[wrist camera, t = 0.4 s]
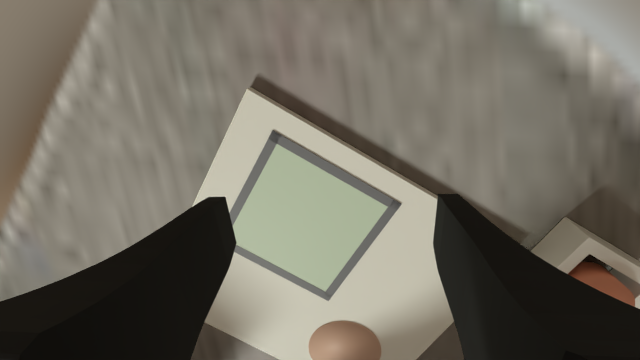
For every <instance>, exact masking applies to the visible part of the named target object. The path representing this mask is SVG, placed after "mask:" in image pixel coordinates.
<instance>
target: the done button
mask: <svg viewBox="0 0 640 360" xmlns="http://www.w3.org/2000/svg"><path fill="white" fill-rule="evenodd" d="M568 275H570V276H572V277H574V278H576V279H578V280H580V281H581V282H583V283H585V284H587V285H589V286H591V287H593V288H595V289H597V290H599V291H601V292H603V293H605V294H607V295H609V296H612V297H614V298H616V299H618V300H620V301H622V302H625V303H627V304H629V305H632V306H634V307H635V298H634V296H633V294H632V292H631V291H630V290H629V289H628V288H627V287H626V286H624V285H623V284H622V283H621V282H620V281H619V280H618V279H617V278H616V277H615V276H614V275H613V274H611V273H610V272H609V271H608V270H607V269H606V268H605V267H603V266H602V265H600V264H597V263H593V262H580V263H579V264H578V265H577V266H576V267H575V268H573V269H572V270H571V271H570V272H569V273H568Z"/></svg>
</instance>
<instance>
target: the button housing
mask: <svg viewBox="0 0 640 360" xmlns="http://www.w3.org/2000/svg"><path fill="white" fill-rule="evenodd" d="M530 252H532V253H533V254H535V255H536V256H538V257H540V258H541V259H543V260H545V261H546V262H548V263H549V264H551V265H553V266H554V267H556V268H558V269H559V270H561V271H563V272H565V273H567V274H568V273H569V272H570V271H571V270H572V269H573V268H575V267H576V266H577V265H578V264H579V263H580V262H581V261H582V260H583V259H584V258H585V257H587V256H588V255H589V254H591V255H592V256H594V257H596V258H597V259H599V260H601V261H602V262H604V263H606V264H607V265H609V266H611V267H612V268H613V269H612V270H611V271H609V272H610V273H611V274H613V275H614V276H615V277H616V278H617V279H618V280H619V281H620V282H621V283H622V284H623V285H624V286H626V287H627V288H628V289H629V290H630V291H631V292H632V294H633V296H634V298H635V307H636V308H638V309H640V262H639V261H638V260H636V259H635V258H633V257H632V256H630V255H628V254H627V253H625V252H623V251H622V250H620V249H618V248H617V247H615V246H613V245H612V244H610V243H608V242H607V241H605V240H603V239H602V238H600V237H598V236H597V235H595V234H593V233H592V232H590V231H588V230H587V229H585V228H583V227H582V226H580V225H578V224H577V223H575V222H573V221H572V220H570V219H568V218H567V217H564V218H563V219H562V220H561V221H560V222H559V223H558V224H557V225H556V226H555V227H554V228H553V229H552V230H551V231H550V232H549V233H548V234H547V235H546V236H545V237H544V238H543V239H542V240H541V241H540V242H539V243H538V244H537V245H536V246H535V247H534V248H533V249H532V250H531V251H530Z"/></svg>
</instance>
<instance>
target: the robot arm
mask: <svg viewBox="0 0 640 360" xmlns="http://www.w3.org/2000/svg"><path fill="white" fill-rule="evenodd" d="M236 243H237V242H236V238H235V234H234V230H233V226H232V222H231V218H230V214H229V210H228V205H227V201H226V197H208V198H206V199H204V200H202V201H201V202H199V203H197V204H196V205H194V206H193V207H191V208H190V209H188V210H187V211H185V212H184V213H182V214H181V215H179V216H178V217H176V218H175V219H173V220H172V221H170V222H169V223H167V224H166V225H164V226H163V227H161V228H160V229H158V230H157V231H155V232H153V233H152V234H150V235H148V236H147V237H145V238H144V239H142V240H140V241H139V242H137V243H136V244H134V245H132V246H130V247H129V248H127V249H125V250H123V251H121V252H120V253H118V254H116V255H114V256H112V257H110V258H108V259H106V260H104V261H102V262H100V263H98V264H96V265H94V266H91V267H89V268H87V269H85V270H82V271H80V272H78V273H76V274H73V275H71V276H69V277H67V278H64V279H62V280H59V281H57V282H54V283H52V284H49V285H47V286H44V287H41V288H39V289H36V290H33V291H30V292H28V293H25V294H22V295H19V296H16V297H13V298H10V299H7V300H4V301H1V302H0V360H190V359H191V356H192V353H193V350H194V348H195V345H196V342H197V339H198V336H199V333H200V331H201V329H202V326H203V324H204V321H205V319H206V317H207V315H208V313H209V311H210V309H211V306H212V304H213V302H214V300H215V298H216V296H217V294H218V291H219V289H220V287H221V285H222V283H223V280H224V278H225V276H226V274H227V272H228V269H229V267H230V264H231V260H232V257H233V254H234V250H235V247H236ZM433 248H434V253H435V259H436V264H437V269H438V273H439V276H440V279H441V282H442V286H443V289H444V292H445V295H446V298H447V301H448V304H449V307H450V310H451V313H452V316H453V319H454V322H455V325H456V328H457V331H458V335H459V338H460V342H461V345H462V350H463V354H464V359H465V360H640V309H638V308H636V307H634V306H632V305H629V304H627V303H625V302H622V301H620V300H618V299H616V298H614V297H612V296H609V295H607V294H605V293H603V292H601V291H599V290H597V289H595V288H593V287H591V286H589V285H587V284H585V283H583V282H581V281H580V280H578V279H576V278H574V277H572V276H570V275H568V274H567V273H565V272H563V271H561V270H559V269H558V268H556V267H554V266H553V265H551V264H549V263H548V262H546V261H545V260H543V259H541V258H540V257H538V256H536V255H535V254H533V253H532V252H530V251H529V250H527V249H526V248H525V247H523V246H522V245H520V244H519V243H518V242H516V241H515V240H513V239H512V238H511V237H509V236H508V235H507V234H505V233H504V232H503V231H501V230H500V229H499V228H498V227H496V226H495V225H494V224H493V223H491V222H490V221H489V220H488V219H486V218H485V217H484V216H483V215H482V214H481V213H479V212H478V211H477V210H476V209H475V208H474V207H472V206H471V205H470V204H469V203H468V202H467V201H466V200H464V199H463V198H462V197H461V196H460V195H458V194H438V199H437V209H436V218H435V228H434V237H433Z"/></svg>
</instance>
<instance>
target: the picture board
mask: <svg viewBox="0 0 640 360" xmlns="http://www.w3.org/2000/svg"><path fill="white" fill-rule="evenodd" d="M208 197H226V201H227V205H228V210H229V214H230V218H231V222H232V226H233V230H234V234H235V238H236V242H237V243H236V247H235V250H234V254H233V257H232V260H231V264H230V267H229V269H228V272H227V274H226V276H225V278H224V280H223V283H222V285H221V287H220V289H219V291H218V294H217V296H216V298H215V300H214V302H213V304H212V306H211V309H210V311H209V313H208V315H207V317H206V319H205V321H204V322H205V323H207V324H209V325H211V326H213V327H215V328H217V329H219V330H221V331H223V332H225V333H227V334H229V335H231V336H233V337H235V338H237V339H239V340H241V341H243V342H245V343H247V344H249V345H251V346H253V347H255V348H257V349H259V350H261V351H263V352H265V353H267V354H269V355H271V356H273V357H275V358H277V359H280V360H416V359H417V358H418V357H419V356H420V355H421V354H422V353H423V352H424V351H425V350H426V349H427V348H428V347H429V346H430V345H431V344H432V343H433V342H434V341H435V340H436V339H437V338H438V337H439V336H440V335H441V334H442V333H443V332H444V331H445V330H446V329H447V328H448V327H449V326H450V325H451V324H452V323H453V322H454V319H453V316H452V313H451V310H450V307H449V304H448V301H447V298H446V295H445V292H444V289H443V286H442V282H441V279H440V276H439V273H438V269H437V264H436V259H435V253H434V248H433V237H434V228H435V218H436V209H437V199H438V196H437V195H435V194H434V193H432V192H430V191H428V190H427V189H425V188H423V187H422V186H420V185H418V184H416V183H415V182H413V181H411V180H410V179H408V178H406V177H404V176H403V175H401V174H399V173H397V172H396V171H394V170H392V169H391V168H389V167H387V166H385V165H384V164H382V163H380V162H379V161H377V160H375V159H373V158H372V157H370V156H368V155H367V154H365V153H363V152H361V151H360V150H358V149H356V148H355V147H353V146H351V145H349V144H348V143H346V142H344V141H343V140H341V139H339V138H337V137H336V136H334V135H332V134H330V133H329V132H327V131H325V130H324V129H322V128H320V127H318V126H317V125H315V124H313V123H312V122H310V121H308V120H306V119H305V118H303V117H301V116H300V115H298V114H296V113H294V112H293V111H291V110H289V109H288V108H286V107H284V106H282V105H281V104H279V103H277V102H276V101H274V100H272V99H270V98H269V97H267V96H265V95H263V94H262V93H260V92H258V91H257V90H255V89H253V88H251V87H250V88H248V89H247V90H246V92H245V94H244V96H243V99H242V101H241V103H240V105H239V107H238V109H237V111H236V114H235V116H234V118H233V120H232V122H231V124H230V126H229V129H228V131H227V133H226V135H225V137H224V139H223V141H222V144H221V146H220V148H219V150H218V152H217V154H216V156H215V159H214V161H213V163H212V165H211V167H210V169H209V171H208V174H207V176H206V178H205V180H204V182H203V184H202V186H201V189H200V191H199V193H198V195H197V197H196V199H195V202H194V204H193V206H194V205H196V204H197V203H199V202H201V201H202V200H204V199H206V198H208ZM193 206H192V207H193Z"/></svg>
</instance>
